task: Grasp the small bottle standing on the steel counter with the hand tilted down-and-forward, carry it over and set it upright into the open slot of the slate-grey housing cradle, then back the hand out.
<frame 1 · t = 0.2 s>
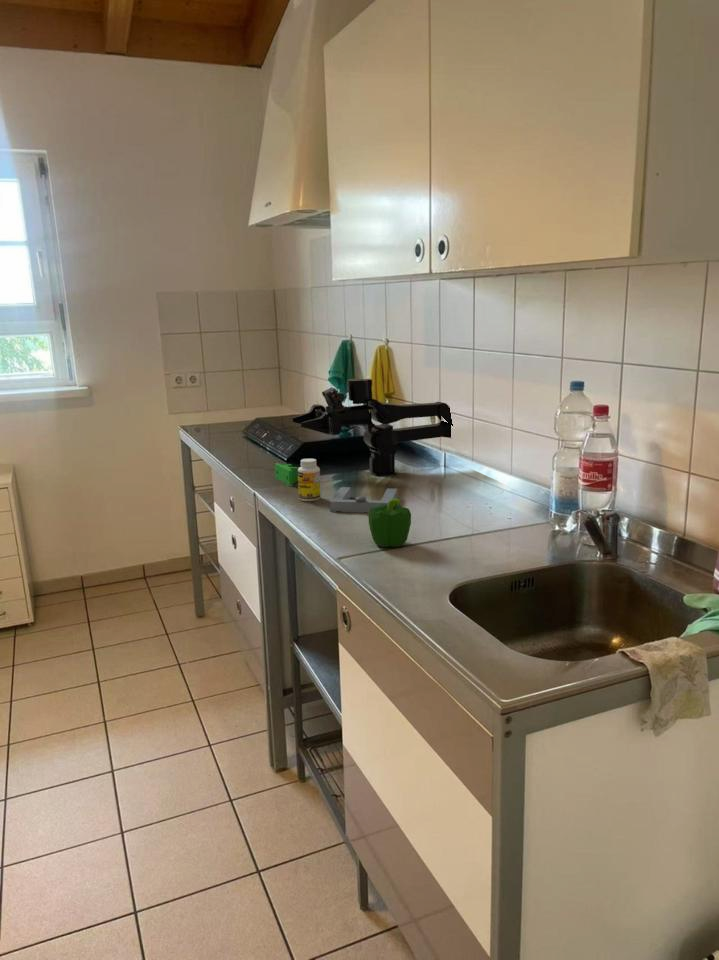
hand: (296, 422, 200), 17 cm above the counter, tool horizontal, fingers open, 9 cm apart
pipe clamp: (288, 482, 204), on the counter
supplement bottle: (309, 500, 185), on the counter
housing cradle: (365, 503, 180), on the counter
bell pepper: (389, 545, 149), on the counter
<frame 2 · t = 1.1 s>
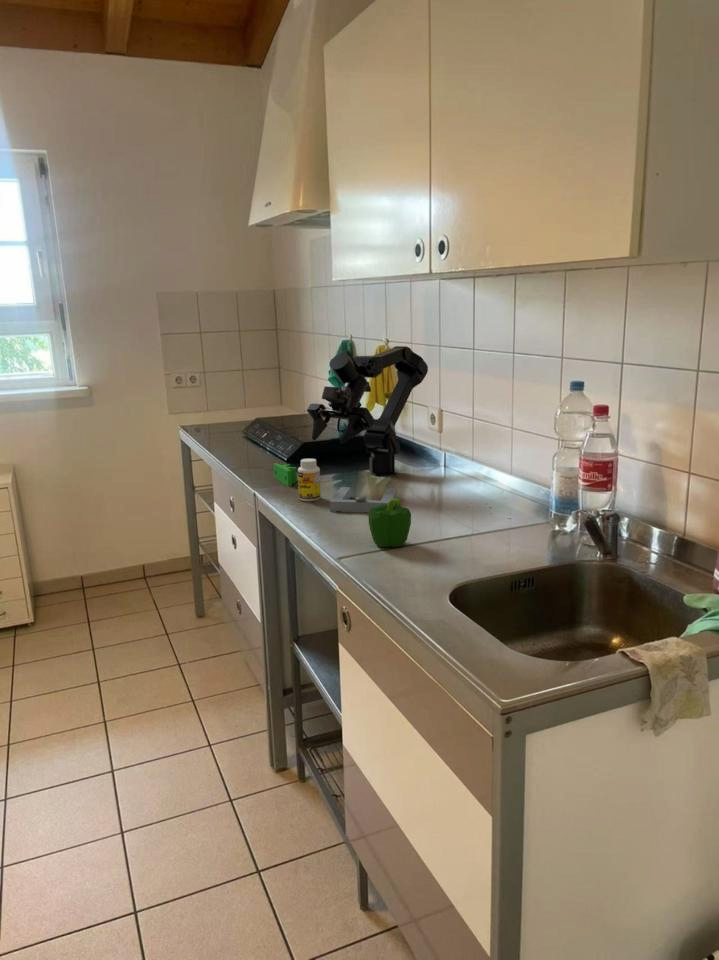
hand: (327, 441, 188), 14 cm above the counter, tool tilted 45°, fingers open, 9 cm apart
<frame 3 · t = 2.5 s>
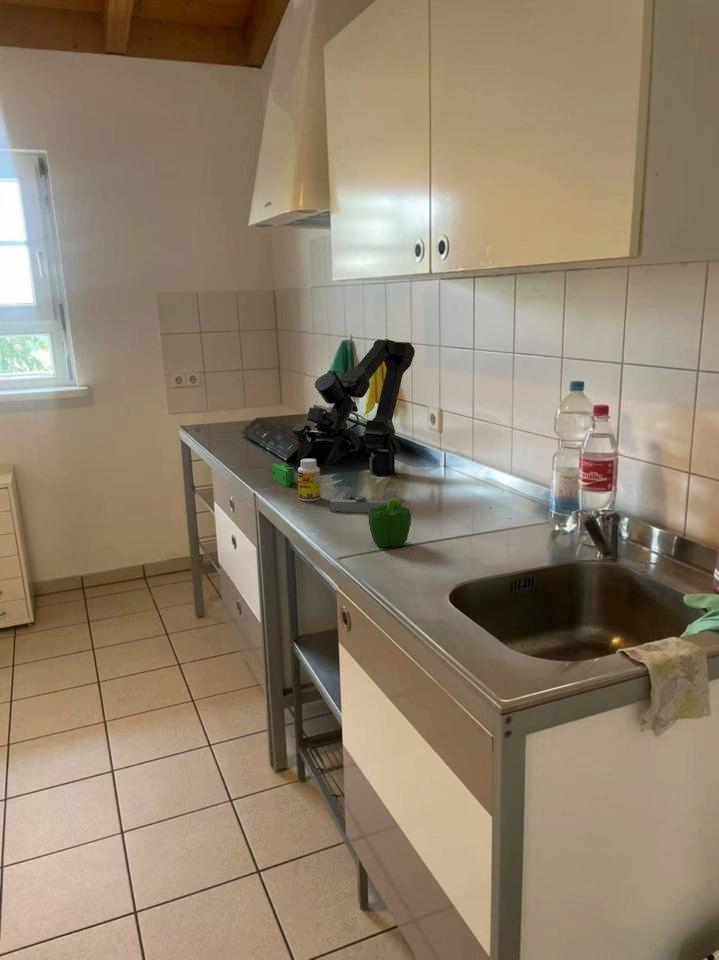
hand: (312, 463, 184), 9 cm above the counter, tool tilted 45°, fingers open, 9 cm apart
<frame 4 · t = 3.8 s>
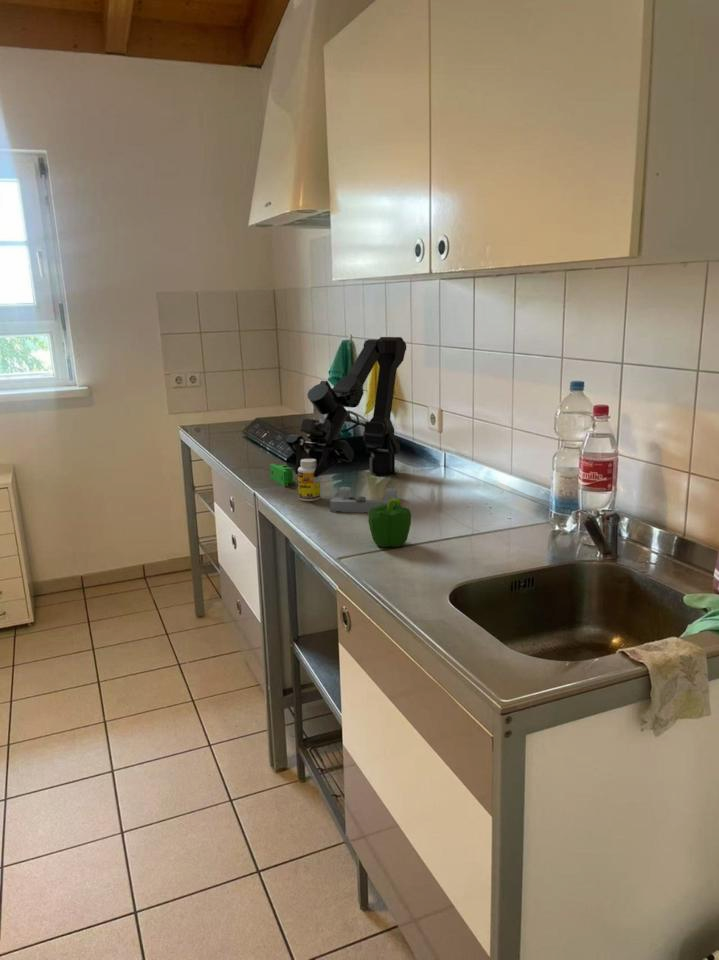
hand: (305, 475, 182), 7 cm above the counter, tool tilted 45°, fingers closed on supplement bottle, 6 cm apart
supplement bottle: (309, 499, 185), on the counter, touching gripper
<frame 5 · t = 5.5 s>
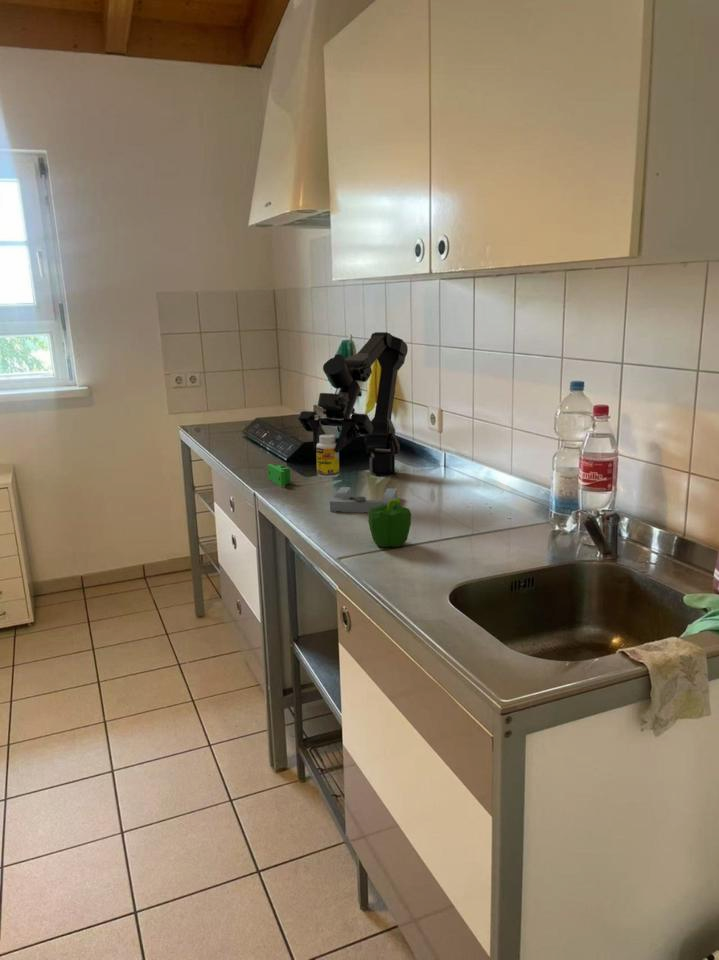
hand: (325, 450, 178), 13 cm above the counter, tool tilted 45°, fingers closed on supplement bottle, 6 cm apart
supplement bottle: (328, 476, 181), point 6 cm above the counter, touching gripper
when the fingers open (9 cm above the counter, at t = 7.5 s): supplement bottle drops 2 cm, on the counter.
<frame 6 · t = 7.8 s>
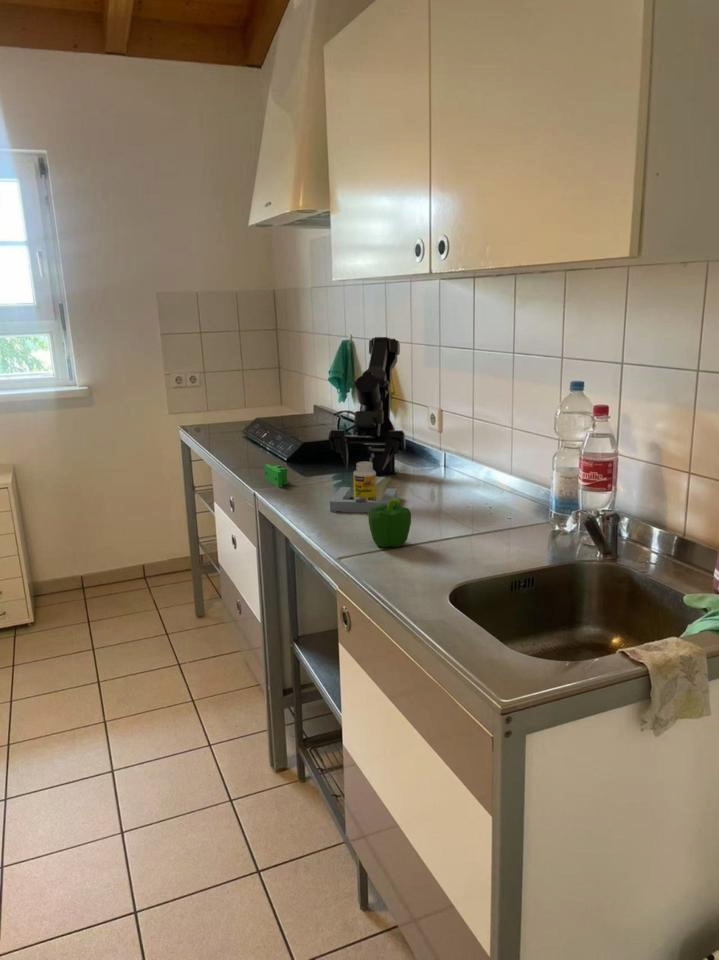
hand: (363, 469, 176), 9 cm above the counter, tool tilted 45°, fingers open, 9 cm apart
supplement bottle: (365, 504, 180), on the counter
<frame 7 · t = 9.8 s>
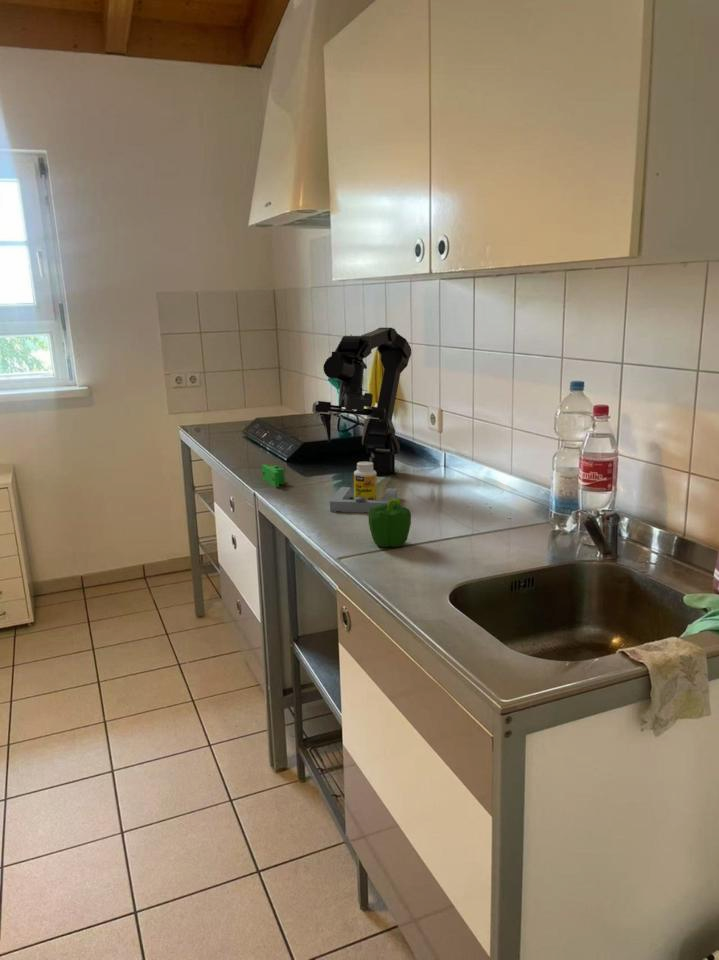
hand: (346, 443, 190), 13 cm above the counter, tool pointing down, fingers open, 9 cm apart
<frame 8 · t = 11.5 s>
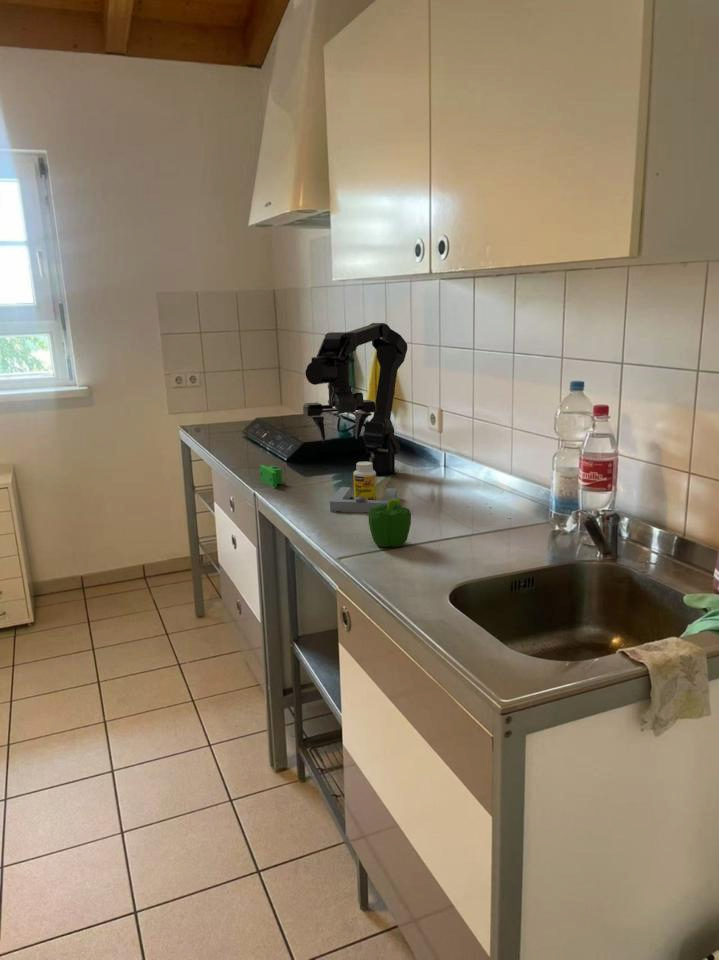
hand: (340, 440, 193), 13 cm above the counter, tool pointing down, fingers open, 9 cm apart
at the end: supplement bottle 0.2 cm from the housing cradle (horizontally); supplement bottle tilted 1°; the gripper is holding nothing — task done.
